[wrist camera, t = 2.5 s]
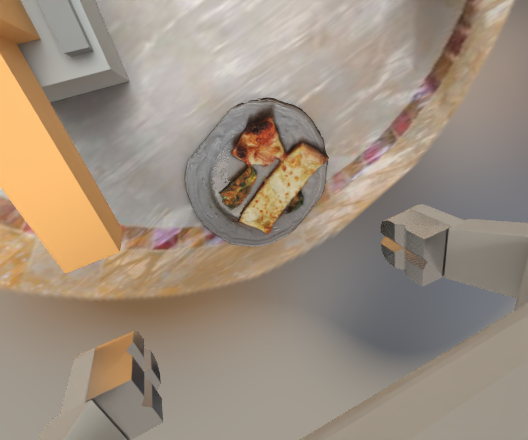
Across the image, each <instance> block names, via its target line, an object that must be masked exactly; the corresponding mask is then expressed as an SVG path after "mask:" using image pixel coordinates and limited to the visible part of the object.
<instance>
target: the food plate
mask: <svg viewBox="0 0 528 440" xmlns="http://www.w3.org/2000/svg"><path fill="white" fill-rule="evenodd" d="M230 140H231V141H230ZM220 142H221V143H220ZM229 142H230V144H229ZM224 148H225V149H224ZM220 150H222V151H220ZM228 150H230V151H229V152H228ZM223 151H224V152H223ZM220 153H221V156H219V158H220V157H221V159H219V158H218V159H217V156H218V155H219V154H220ZM225 153H226V154H225ZM223 156H229V159H227V160H224V159H226V157H223ZM191 157H192V158H191ZM191 157H190V158H189V160H188V164H187V167H186V174H185V175H186V177H185V182H186V189H187V191H188V195H189V198H190V200H191V203H192V206H193V208H194V212H195V213H196V214H197V217H198V218H199V219H200V221H202V223H203V224H204V226H205V227H207V228H208V230H211V231H212V232H213V233H215V234H216V235H218V236H219V237H221V238H222V239H224V240H226V241H227V242H229V243H230V244H233V245H245V246H248V247H249V246H250V247H251V246H255V247H256V246H262V245H268V244H271V243H273V242H276V241H277V240H279V239H281V238H283V237H285V236H287V235H288V234H289V233H290V232H291V230H293V229H294V228H295V227H297V226H298V225H299V224H300V223H301V222H302V221H303V219H304V218H305V217H306V216H307V215H308V213H309V212H310V211H311V210H312V209H311V208H313V207H314V206H315V204H316V203H317V201H319V199H320V197H321V195H322V193H323V190H324V187H325V182H326V171H327V165H328V159H329V157H328V156H327V154H326V151H325V145H324V140H323V138H322V137H321V134H320V132H319V130H318V129H317V127H316V126H315V124H314V122H313V121H312V119H311V118H310V117H309V116H308V115H307V114H306V113H305V112H303V110H302V109H300V108H298V107H296V106H294V105H292V104H288V103H284V102H282V101H278V100H277V99H274V98H262V99H261V100H260V101H258V100H251V101H249V102H248V103H245V104H244V103H241V104H238V105H237V106H235V107H233V108H232V109H230V110H229V111H228V112H227V114H226V115H225V116H224V117H223V119H222V120H221V121H220V122H219V124H218V125H217V126H216V127H215V128H214V130H213V131H212V132H211V133H210V134H209V136H208V137H207V138H206V140H205V141H204V142H203V143H202V144H201V145H200V147H199V148H198V149H197V152H196V153H194V156H193V155H192V156H191ZM222 159H223V160H224V161H225V162H227V163H229V164H228V166H227V167H226V169H225V168H223V169H222V170H221V172H220V173H223V176H224V173H226V171H227V174H228V175H227V176H229V178H227V179H228V181H231V182H229V184H228V185H227V186H226V187H225V188H224V189H223V190H222V191H221V192H219V194H221V196H222V198H223V200H222V202H223V203H224V204H225V205H226V206H228V207H230V210H233V209H234V208H236V207H238V206H239V205H240V204H242V201H243V200H244V198H246V197H247V195H248V194H249V193H250V192H252V193H251V196H250V197H249V200H248V201H247V203H246V204H245V205H244V206H245V207H244V208H243V210H242V212H241V213H240V214H241V216H240V217H239V219H238V218H237V217H235V216H233V215H232V214H231V213H229V212H228V211H227V210H225V208H223V207H221V206H220V204H219V202H218V201H217V197H216V196H215V191H214V190H213V189H212V185H213V183H215V182H214V181H212V177H215V175H216V174H215V173H217V172H216V171H217V168H215V169H213V168H214V167H219V166H216V164H217V161H218V162H220V163H221V162H222ZM230 160H231V161H230ZM238 174H239V175H238ZM221 177H222V175H221ZM221 179H222V178H221ZM225 179H226V178H225ZM222 180H223V179H222ZM225 183H226V182H225ZM215 189H216V188H215ZM310 209H311V210H310ZM295 229H296V228H295ZM295 229H294V230H295ZM292 232H293V231H292Z"/></svg>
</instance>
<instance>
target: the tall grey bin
mask: <svg viewBox="0 0 528 440" xmlns="http://www.w3.org/2000/svg"><path fill="white" fill-rule="evenodd" d="M21 2H22V4H23V6H24V8H25V10H26V12H27V14H28V16H29V17H30V19H31V21H32V23H33V25H34V27H35V29H36V31H37V33H38V34H39V36H40V38H41V39H38V40H34V41H29V42H25V43H20V44H17V45H18V47H19V49H20V51H21V52H22V54H23V56H24V58H25V60H26V61H27V63H28V65H29V67H30V68H31V70H32V72H33V74H34V75H35V77H36V79H37V81H38V82H39V84H40V86H41V88H42V89H43V91H44V93H45V95H46V96H47V98H48V100H49V102H50V103H51V102H55V101H58V100H62V99H66V98H69V97H73V96H77V95H80V94H84V93H88V92H91V91H95V90H99V89H102V88H106V87H110V86H113V85H117V84H121V83H124V82H128V81H129V79H128V77H127V74H126V72H125V70H124V67H123V65H122V63H121V60H120V58H119V56H118V53H117V51H116V49H115V46H114V44H113V42H112V39H111V37H110V35H109V32H108V30H107V28H106V25H105V23H104V21H103V18H102V16H101V13H100V11H99V9H98V6H97V4H96V2H95V0H21Z"/></svg>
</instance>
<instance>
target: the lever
mask: <svg viewBox="0 0 528 440" xmlns="http://www.w3.org/2000/svg"><path fill="white" fill-rule="evenodd" d="M38 39H41V38H40V36H39V34H38V33H37V31H36V29H35V27H34V25H33V23H32V21H31V19H30V17H29V16H28V14H27V12H26V10H25V8H24V6H23V4H22V2H21V0H0V187H1V188H2V190H3V191H4V192H5V194H6V195H7V196H8V198H9V199H10V200H11V202H12V203H13V204H14V206H15V207H16V208H17V210H18V211H19V212H20V214H21V215H22V216H23V218H24V219H25V220H26V222H27V223H28V224H29V226H30V227H31V228H32V230H33V231H34V232H35V234H36V235H37V236H38V238H39V239H40V240H41V242H42V243H43V245H44V246H45V247H46V249H47V250H48V251H49V253H50V254H51V255H52V257H53V258H54V259H55V261H56V262H57V263H58V265H59V266H60V267H61V269H62V270H63V271H64V273H65V274H66V273H68V272H71V271H73V270H76V269H78V268H81V267H83V266H86V265H89V264H91V263H94V262H96V261H99V260H101V259H104V258H106V257H109V256H111V255H114V254H117V253H119V252H120V247H121V240H122V233H123V230H122V228H121V226H120V225H119V223H118V221H117V219H116V218H115V216H114V214H113V212H112V211H111V209H110V207H109V205H108V204H107V202H106V200H105V198H104V197H103V195H102V193H101V191H100V190H99V188H98V186H97V184H96V183H95V181H94V179H93V177H92V175H91V174H90V172H89V170H88V168H87V167H86V165H85V163H84V161H83V160H82V158H81V156H80V154H79V153H78V151H77V149H76V147H75V146H74V144H73V142H72V140H71V139H70V137H69V135H68V133H67V132H66V130H65V128H64V126H63V125H62V123H61V121H60V119H59V118H58V116H57V114H56V112H55V110H54V109H53V107H52V105H51V103H50V102H49V100H48V98H47V96H46V95H45V93H44V91H43V89H42V88H41V86H40V84H39V82H38V81H37V79H36V77H35V75H34V74H33V72H32V70H31V68H30V67H29V65H28V63H27V61H26V60H25V58H24V56H23V54H22V52H21V51H20V49H19V47H18V45H17V44H20V43H25V42H29V41H34V40H38Z"/></svg>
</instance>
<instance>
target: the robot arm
mask: <svg viewBox="0 0 528 440" xmlns="http://www.w3.org/2000/svg"><path fill="white" fill-rule="evenodd" d="M380 229H381V233H382V234H383V235H384V238H383V240H382V242H381V250H382V253H383V255H384V257H385V259H386V260H387V262H388V263H389V264H391V265H392V266H393V267H395V268H399V269H403V270H404V271H405V275H406V276H408V277H409V278H411V279H412V280H413V281H415V282H417V283H418V284H419V285H421V286H425V285H427V284H429V283H431V282H433V281H435V280H437V279H439V278H441V277H443V276H444V278H447V279H451V280H454V281H458V282H461V283H465V284H468V285H472V286H475V287H479V288H482V289H486V290H489V291H493V292H497V293H500V294H503V295H507V296H510V297H514V298H517V300H516V304H515V308H514V311H513V312H511V313H510V314H508V315H506V316H505V317H503V318H501V319H500V320H498V321H496V322H495V323H493V324H491V325H490V326H488V327H486V328H485V329H483V330H481V331H480V332H478V333H476V334H475V335H473V336H471V337H470V338H468V339H467V340H465V341H463V342H461V343H460V344H458V345H456V346H455V347H453V348H451V349H450V350H448V351H447V352H445V353H443V354H441V355H440V356H438V357H437V358H435V359H433V360H432V361H430V362H428V363H426V364H425V365H423V366H421V367H420V368H419V369H416V370H415V371H413V372H412V373H410V374H408V375H406V376H405V377H403V378H401V379H400V380H398V381H397V382H395V383H393V384H391V385H390V386H388V387H387V388H385V389H383V390H381V391H380V392H378V393H377V394H375V395H373V396H372V397H370V398H368V399H367V400H365V401H363V402H362V403H360V404H358V405H357V406H355V407H353V408H352V409H350V410H348V411H347V412H345V413H343V414H342V415H340V416H339V417H337V418H335V419H334V420H332V421H330V422H328V423H327V424H325V425H323V426H322V427H320V428H318V429H317V430H315V431H313V432H312V433H310V434H309V435H307V436H305V437H303V438H302V439H300V440H528V223H518V222H504V221H488V220H475V219H468V220H466V221H464V220H462V219H459V218H457V217H454V216H452V215H449V214H447V213H444V212H442V211H439V210H437V209H434V208H432V207H429V206H427V205H422V204H419V205H417V206H414V207H412V208H411V209H408V210H407V211H405V212H402V213H400V214H398V215H396V216H393V217H391V218H389V219H387V220H385V221H382V223H381V226H380ZM160 384H161V381H160V372H159V368H158V364H157V361H156V359H155V357H154V355H153V353H152V352H151V350H149V349H145V348H144V339H143V338H142V336H141V335H140V333H139V332H138V331H133V332H131V333H128V334H126V335H124V336H121V337H119V338H116V339H114V340H112V341H109V342H107V343H105V344H102V345H100V346H98V347H96V348H93V349H91V350H88V351H86V352H84V353H82V354H79V355H78V356H77V357H76V358H75V359H74V362H73V365H72V369H71V373H70V377H69V381H68V384H67V388H66V392H65V396H64V400H63V404H62V408H61V411H60V415H59V416H57V417H55V418H53V419H52V420H51V421H50V423H49V424H48V425H47V427H46V428H45V429H44V430H43V432H42V433H41V434H40V436H39V437H38V438H37V440H132V439H134V438H136V437H137V436H139V435H141V434H143V433H145V432H147V431H148V430H150V429H152V428H153V427H156V426H157V425H159V424H161V423H163V412H162V398H161V396H160V395H159V393H158V392H157V389H158V387H159V385H160Z"/></svg>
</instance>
